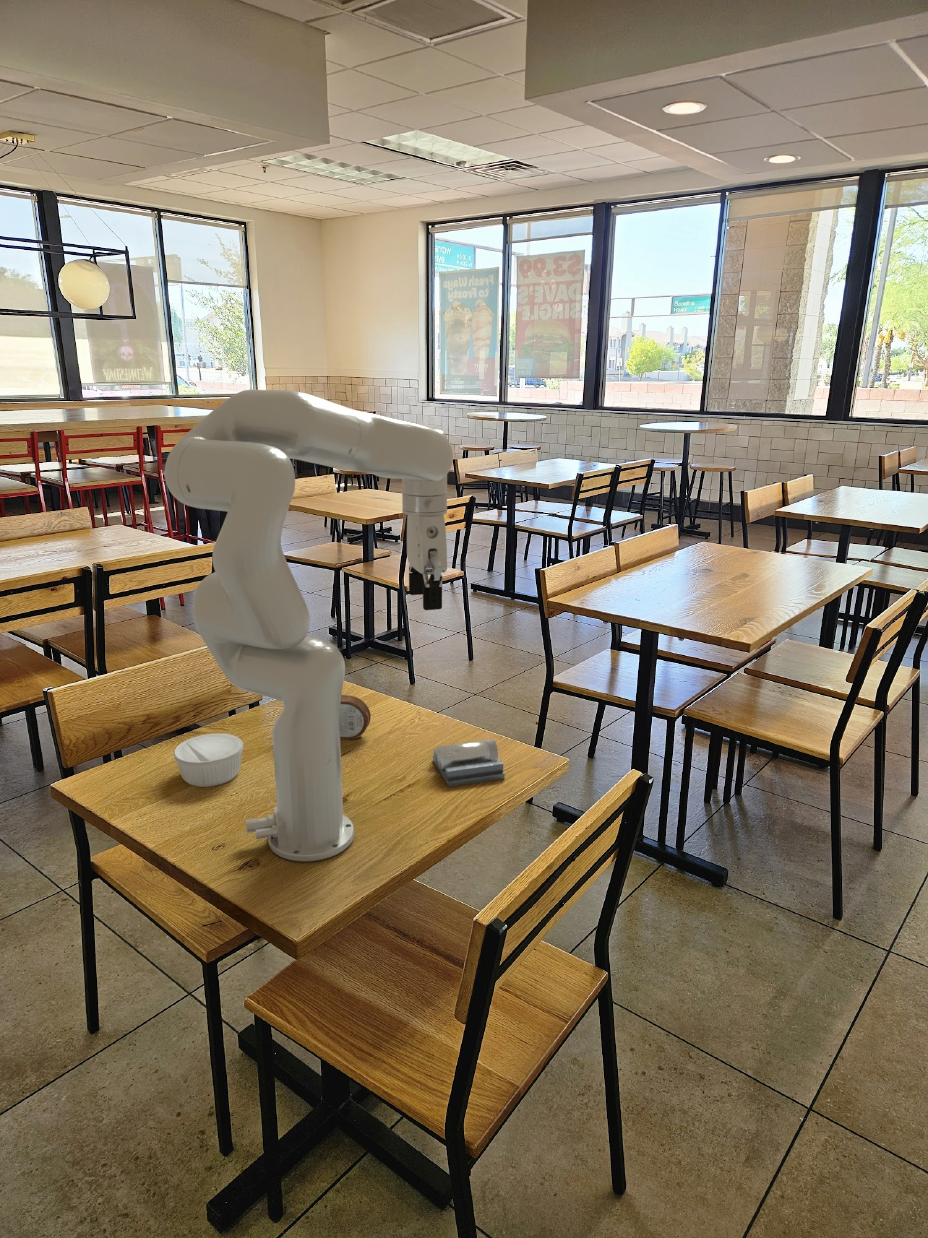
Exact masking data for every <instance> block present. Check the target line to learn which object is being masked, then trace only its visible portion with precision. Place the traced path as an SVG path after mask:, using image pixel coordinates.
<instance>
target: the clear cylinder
mask: <svg viewBox="0 0 928 1238" xmlns="http://www.w3.org/2000/svg"><path fill="white" fill-rule="evenodd" d="M436 749H437V752H436V754H437V762H438V766H439V768H440V769H441V770H442V769H445V768H446V767H453V766H460V765H467V764H474V763H481V762H489V761H496V760H499V759H498V758H499V749H498V746H497V742H496V740H495V739H494V738H491V739H485V740H477V741H475V740H474V741H468V742H462V743H454V744H446V745H438V746H436Z"/></svg>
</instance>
